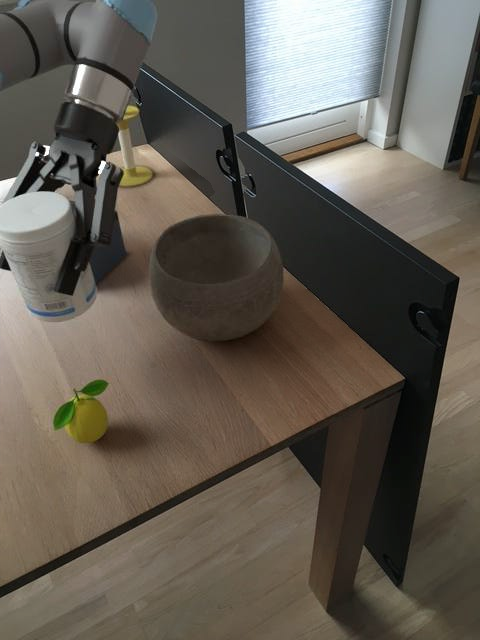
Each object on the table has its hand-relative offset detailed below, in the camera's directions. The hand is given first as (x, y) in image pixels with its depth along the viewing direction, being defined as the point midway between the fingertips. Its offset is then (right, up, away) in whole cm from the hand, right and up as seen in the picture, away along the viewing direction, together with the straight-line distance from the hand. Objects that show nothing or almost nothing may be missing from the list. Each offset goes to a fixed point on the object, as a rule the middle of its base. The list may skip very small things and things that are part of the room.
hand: (34, 281), depth 68 cm
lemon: (+6, -21, +5) cm, 22 cm away
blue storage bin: (-5, +6, +34) cm, 35 cm away
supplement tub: (+2, -3, +6) cm, 7 cm away
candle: (0, +29, +61) cm, 67 cm away
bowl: (+23, -5, +21) cm, 32 cm away
